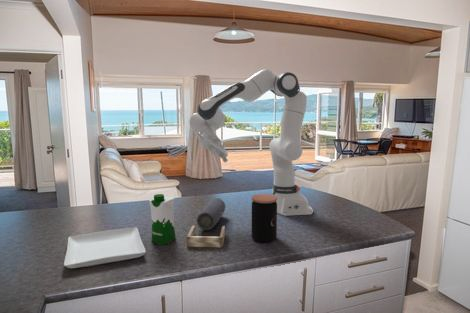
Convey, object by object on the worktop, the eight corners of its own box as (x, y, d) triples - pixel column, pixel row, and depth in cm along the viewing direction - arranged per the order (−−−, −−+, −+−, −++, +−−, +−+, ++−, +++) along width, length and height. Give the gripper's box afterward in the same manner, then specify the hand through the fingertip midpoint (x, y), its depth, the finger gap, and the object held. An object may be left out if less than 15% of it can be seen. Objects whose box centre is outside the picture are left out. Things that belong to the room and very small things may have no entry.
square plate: (64, 275, 109) (63, 265, 108) (69, 244, 134) (68, 235, 133) (146, 260, 120) (146, 250, 119) (137, 233, 144) (136, 225, 144)
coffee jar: (275, 244, 132) (276, 201, 129) (249, 242, 134) (249, 200, 131) (277, 234, 142) (278, 194, 140) (253, 232, 145) (253, 193, 142)
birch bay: (225, 234, 142) (225, 226, 142) (222, 247, 130) (222, 237, 129) (192, 234, 143) (192, 225, 142) (186, 246, 130) (186, 237, 130)
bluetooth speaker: (216, 233, 143) (215, 212, 142) (195, 232, 145) (195, 210, 144) (226, 216, 166) (226, 197, 164) (208, 215, 167) (208, 196, 166)
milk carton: (148, 242, 134) (146, 195, 131) (162, 234, 142) (160, 190, 139) (165, 246, 131) (164, 198, 127) (178, 238, 139) (177, 192, 136)
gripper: (202, 127, 153) (216, 147, 146) (222, 141, 170) (235, 160, 163) (192, 135, 154) (205, 156, 147) (213, 149, 171) (226, 168, 164)
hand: (221, 158), depth 155 cm, fingers open, 8 cm apart
